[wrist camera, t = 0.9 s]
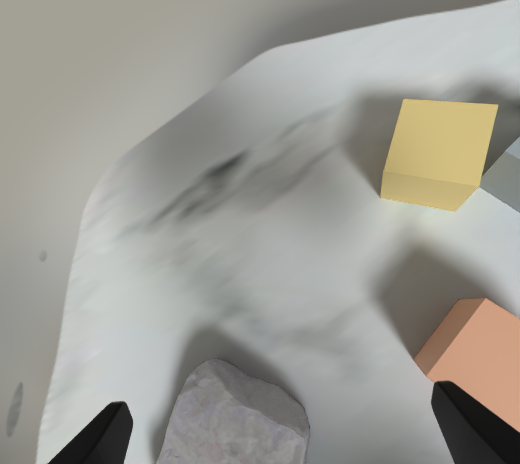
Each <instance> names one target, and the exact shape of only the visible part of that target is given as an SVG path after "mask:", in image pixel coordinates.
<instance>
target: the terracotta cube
mask: <svg viewBox="0 0 520 464" xmlns="http://www.w3.org/2000/svg"><path fill="white" fill-rule="evenodd" d="M413 360H414V361H415V363H416V364H417V365H418V367H419V368H420V369H421V371H422V372H423V373H424V374H425V376H426V377H427V378H429V379H430V380H431V381H433V382H434V383H435V382H436V381H446V380H448V381H452V382H454V383H455V384H456V385H458V386H459V387H460V388H462V389H463V390H464V391H466V392H467V393H468V394H470V395H471V396H472V397H473V398H475V399H476V400H477V401H479V402H480V403H481V404H483V405H484V406H485V407H487V408H488V409H489V410H491V411H492V412H493V413H495V414H496V415H497V416H499V417H500V418H501V419H503V420H504V421H505V422H507V423H508V424H509V425H511V426H512V427H513V428H515V429H516V430H517V431H518V432H520V319H519V318H517V317H516V316H514V315H512V314H511V313H509V312H508V311H506V310H504V309H503V308H501V307H499V306H498V305H496V304H495V303H493V302H491V301H490V300H488V299H486V298H476V299H459V300H458V301H457V302H456V304H455V305H454V306H453V308H452V309H451V310H450V312H449V313H448V314H447V315H446V317H445V318H444V319H443V321H442V322H441V323H440V325H439V326H438V327H437V329H436V330H435V331H434V333H433V334H432V335H431V337H430V338H429V339H428V341H427V342H426V343H425V345H424V346H423V347H422V349H421V350H420V351H419V352H418V354H417V355H416V356H415V358H414V359H413Z"/></svg>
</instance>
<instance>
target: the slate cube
mask: <svg viewBox="0 0 520 464" xmlns="http://www.w3.org/2000/svg"><path fill="white" fill-rule="evenodd" d="M479 187H480V188H482V189H483V190H485V191H487V192H488V193H490V194H491V195H493V196H494V197H496V198H498V199H499V200H501V201H502V202H504V203H505V204H507V205H509V206H510V207H512V208H513V209H515V210H516V211H518V212H520V137H519V138H518V139H517V140H516V141H515V142H514V143H513V144H512V145H510V146H509V147H508V148H507V149H506V150H505V151H504V153H503V154H502V155H501V156H500V157H499V158H498V159H497V160H496V162H495V163H494V164H493V165H492V166H491V167H490V168H489V169H488V170H487V172H486V173H485V174H484V175H483V176H482V177H481V181H480V185H479Z"/></svg>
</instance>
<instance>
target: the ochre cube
mask: <svg viewBox="0 0 520 464" xmlns="http://www.w3.org/2000/svg"><path fill="white" fill-rule="evenodd" d="M497 109H498V105H496V104H480V103H464V102H448V101H432V100H416V99H403V102H402V106H401V110H400V113H399V117H398V120H397V124H396V127H395V131H394V135H393V138H392V142H391V145H390V149H389V152H388V156H387V160H386V163H385V167H384V170H383V178H382V187H381V195H380V198H384V199H389V200H395V201H400V202H405V203H411V204H416V205H421V206H427V207H432V208H437V209H443V210H448V211H453V212H455V211H456V210H457V209H458V208H459V207H460V206H461V205H462V204H463V203H464V202H465V201H466V200H467V199H468V198H469V197H470V195H471V194H472V193H473V192H474V191H475V190H476V189H477V188H478V187H479V185H480V181H481V176H482V172H483V168H484V164H485V159H486V155H487V151H488V147H489V143H490V138H491V134H492V130H493V126H494V121H495V117H496V113H497Z"/></svg>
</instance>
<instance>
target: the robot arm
mask: <svg viewBox="0 0 520 464" xmlns="http://www.w3.org/2000/svg"><path fill="white" fill-rule="evenodd" d="M431 405H432V409H433V412H434V414H435V417H436V419H437V422H438V424H439V426H440V429H441V431H442V434H443V436H444V439H445V441H446V444H447V446H448V448H449V451H450V453H451V456H452V458H453V461H454V463H455V464H520V432H518V431H517V430H516V429H515V428H513V427H512V426H511V425H509V424H508V423H507V422H505V421H504V420H503V419H501V418H500V417H499V416H497V415H496V414H495V413H493V412H492V411H491V410H489V409H488V408H487V407H485V406H484V405H483V404H481V403H480V402H479V401H477V400H476V399H475V398H473V397H472V396H471V395H470V394H468V393H467V392H466V391H464V390H463V389H462V388H460V387H459V386H458V385H456V384H455V383H454V382H452V381H448V380H446V381H436V382H435V383H434V387H433V393H432V399H431ZM132 428H133V419H132V416H131V414H130V411H129V408H128V406H127V404H126V402H124V401H119V402H111V403H110V404H108V405H107V406H106V407H105V408H104V409H103V410H102V411H101V412H100V413H99V414H98V415H97V416H96V417H95V418H94V419H93V420H92V421H91V422H90V423H89V424H88V425H87V426H86V427H85V428H84V429H83V430H82V431H81V432H80V433H79V434H77V435H76V436H75V437H74V438H73V439H72V440H71V441H70V442H69V443H68V444H67V445H66V446H65V447H64V448H63V449H62V450H61V451H60V452H59V453H58V454H57V455H56V456H55V457H54V458H53V459H52V460H51V461H50V462H49V463H48V464H124V460H125V456H126V452H127V448H128V444H129V440H130V436H131V432H132Z"/></svg>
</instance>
